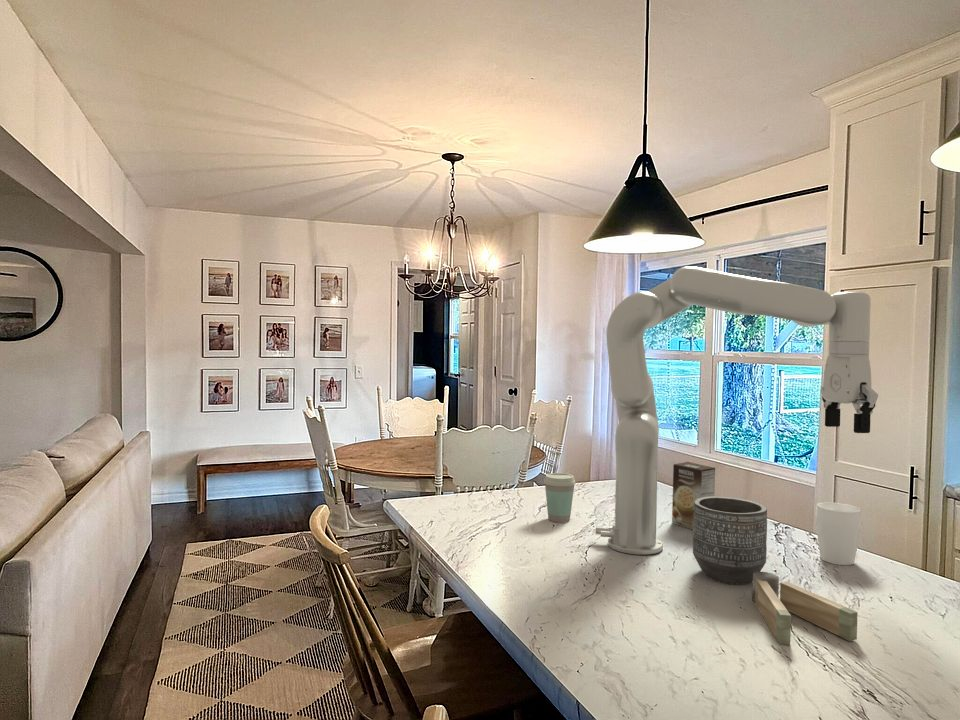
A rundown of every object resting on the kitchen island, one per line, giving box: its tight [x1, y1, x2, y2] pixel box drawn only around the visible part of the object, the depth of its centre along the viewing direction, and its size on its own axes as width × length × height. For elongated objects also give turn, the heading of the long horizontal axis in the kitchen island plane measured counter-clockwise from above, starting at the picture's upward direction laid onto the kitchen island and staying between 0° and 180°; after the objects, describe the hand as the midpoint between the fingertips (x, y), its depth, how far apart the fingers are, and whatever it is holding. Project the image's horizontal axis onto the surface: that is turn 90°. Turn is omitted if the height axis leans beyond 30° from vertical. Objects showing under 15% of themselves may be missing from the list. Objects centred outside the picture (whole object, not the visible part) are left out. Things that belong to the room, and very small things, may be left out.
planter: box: [692, 495, 768, 585], centre depth 131 cm, size 14×14×15 cm
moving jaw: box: [779, 581, 858, 642], centre depth 109 cm, size 2×14×4 cm, turn 21°
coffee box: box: [671, 461, 716, 530], centre depth 167 cm, size 9×6×16 cm
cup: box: [814, 501, 863, 566], centre depth 141 cm, size 9×9×12 cm
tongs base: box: [751, 571, 792, 646], centre depth 110 cm, size 4×19×5 cm, turn 170°
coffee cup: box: [543, 472, 576, 524], centre depth 171 cm, size 8×8×12 cm
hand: (846, 429), depth 136 cm, fingers open, 9 cm apart
